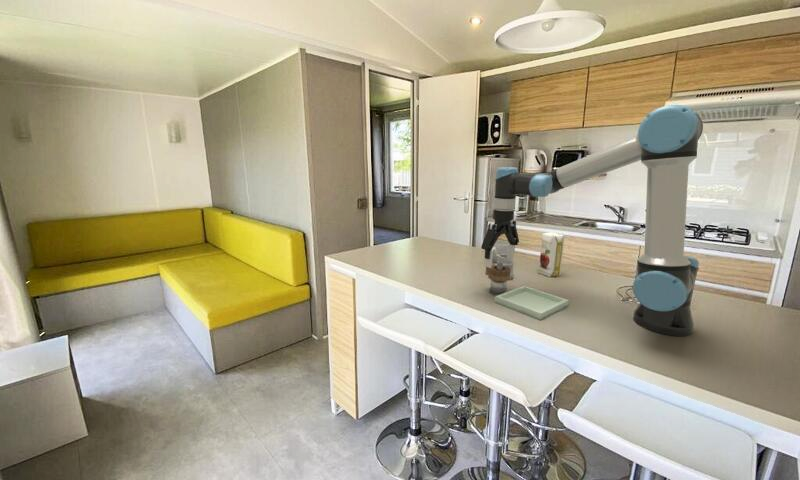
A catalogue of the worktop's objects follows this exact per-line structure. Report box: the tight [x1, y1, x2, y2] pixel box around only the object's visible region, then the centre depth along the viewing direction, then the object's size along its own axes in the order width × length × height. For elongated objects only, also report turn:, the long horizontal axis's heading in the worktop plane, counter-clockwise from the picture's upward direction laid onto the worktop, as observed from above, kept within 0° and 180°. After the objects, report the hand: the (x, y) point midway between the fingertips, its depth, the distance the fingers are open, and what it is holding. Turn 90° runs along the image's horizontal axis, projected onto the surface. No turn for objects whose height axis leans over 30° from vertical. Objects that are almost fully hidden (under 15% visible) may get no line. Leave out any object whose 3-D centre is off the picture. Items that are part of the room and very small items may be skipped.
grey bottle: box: [489, 262, 508, 296], centre depth 133 cm, size 6×6×12 cm
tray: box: [494, 285, 570, 321], centre depth 123 cm, size 18×18×2 cm
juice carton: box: [538, 231, 566, 278], centre depth 154 cm, size 8×9×19 cm
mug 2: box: [492, 249, 515, 280], centre depth 152 cm, size 8×12×12 cm, turn 39°
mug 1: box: [492, 239, 509, 263], centre depth 174 cm, size 13×9×10 cm
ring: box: [485, 264, 511, 282], centre depth 133 cm, size 10×8×4 cm
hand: (499, 263), depth 132 cm, fingers open, 13 cm apart
